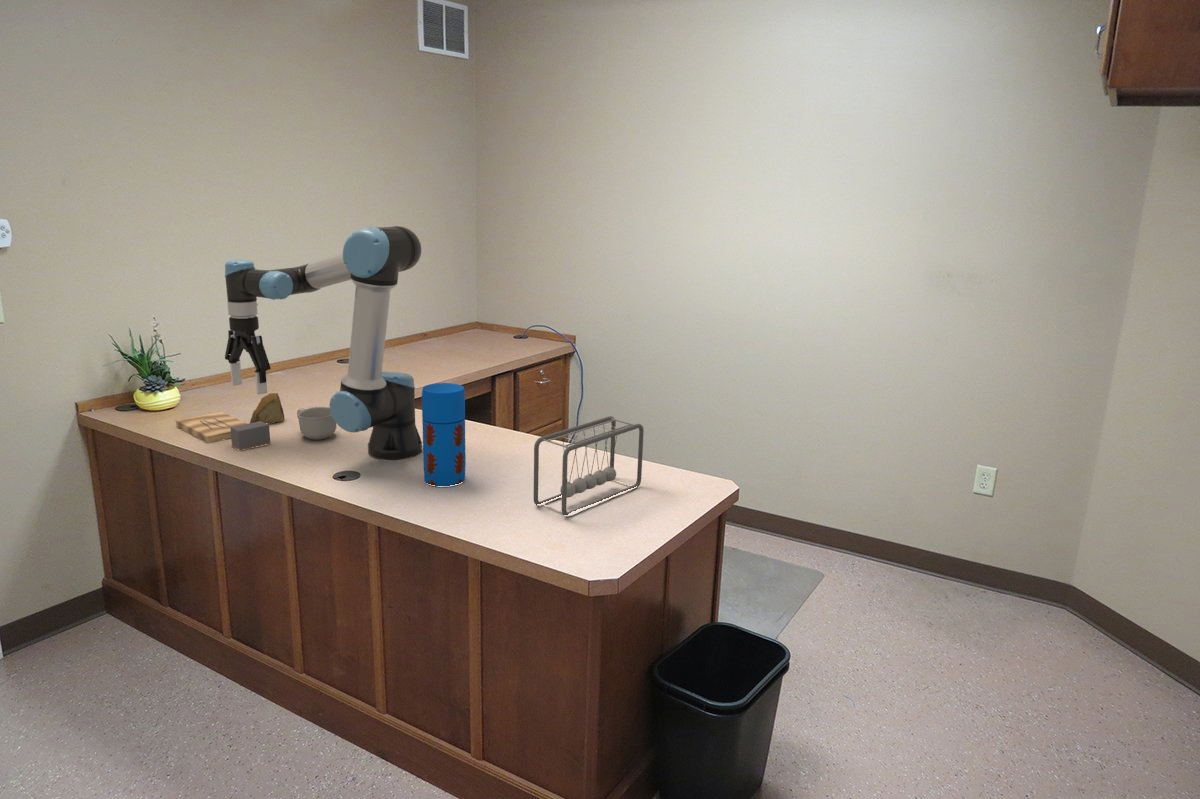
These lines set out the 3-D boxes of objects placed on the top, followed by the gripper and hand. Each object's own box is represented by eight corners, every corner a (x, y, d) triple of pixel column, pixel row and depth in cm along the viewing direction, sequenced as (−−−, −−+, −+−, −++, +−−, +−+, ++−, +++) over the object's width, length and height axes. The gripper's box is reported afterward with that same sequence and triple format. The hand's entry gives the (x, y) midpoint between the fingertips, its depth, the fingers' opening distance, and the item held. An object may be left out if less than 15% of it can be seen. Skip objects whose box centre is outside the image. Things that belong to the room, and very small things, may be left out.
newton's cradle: (563, 520, 193) (565, 448, 188) (532, 507, 199) (533, 438, 195) (641, 487, 215) (644, 422, 210) (611, 477, 222) (613, 414, 217)
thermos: (446, 490, 208) (444, 395, 201) (415, 481, 213) (412, 388, 207) (474, 478, 217) (473, 387, 210) (443, 470, 222) (442, 380, 216)
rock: (246, 422, 250) (280, 416, 252) (243, 396, 253) (277, 391, 255) (254, 433, 260) (287, 428, 262) (251, 409, 263) (284, 403, 265)
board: (255, 433, 247) (254, 426, 247) (208, 443, 237) (207, 436, 237) (222, 417, 261) (221, 411, 261) (176, 426, 251) (175, 420, 251)
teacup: (344, 437, 246) (342, 411, 244) (310, 445, 239) (308, 418, 237) (320, 427, 256) (319, 402, 253) (287, 434, 248) (285, 408, 246)
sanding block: (270, 444, 238) (269, 424, 237) (240, 451, 232) (238, 431, 230) (262, 440, 241) (260, 421, 240) (232, 447, 235) (230, 427, 233)
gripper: (280, 320, 225) (285, 394, 231) (233, 309, 240) (239, 379, 245) (254, 323, 219) (260, 399, 225) (208, 311, 234) (214, 383, 240)
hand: (249, 389), depth 235 cm, fingers open, 13 cm apart
